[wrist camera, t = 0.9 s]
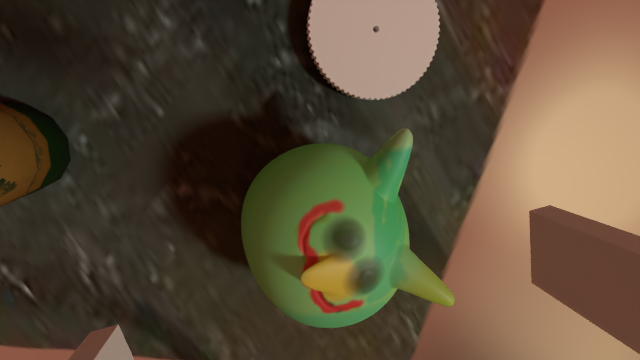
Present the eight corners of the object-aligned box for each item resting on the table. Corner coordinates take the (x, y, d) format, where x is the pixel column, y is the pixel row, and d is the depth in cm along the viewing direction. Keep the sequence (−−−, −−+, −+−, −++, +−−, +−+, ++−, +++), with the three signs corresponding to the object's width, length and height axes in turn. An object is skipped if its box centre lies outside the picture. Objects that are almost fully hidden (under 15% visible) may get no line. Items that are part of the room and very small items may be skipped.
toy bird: (223, 164, 34) (191, 203, 20) (364, 115, 35) (427, 118, 21) (279, 297, 39) (285, 404, 25) (402, 249, 40) (474, 324, 26)
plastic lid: (448, 4, 34) (462, -5, 32) (394, 120, 36) (403, 120, 34) (338, -65, 31) (343, -79, 29) (285, 67, 33) (286, 63, 31)
